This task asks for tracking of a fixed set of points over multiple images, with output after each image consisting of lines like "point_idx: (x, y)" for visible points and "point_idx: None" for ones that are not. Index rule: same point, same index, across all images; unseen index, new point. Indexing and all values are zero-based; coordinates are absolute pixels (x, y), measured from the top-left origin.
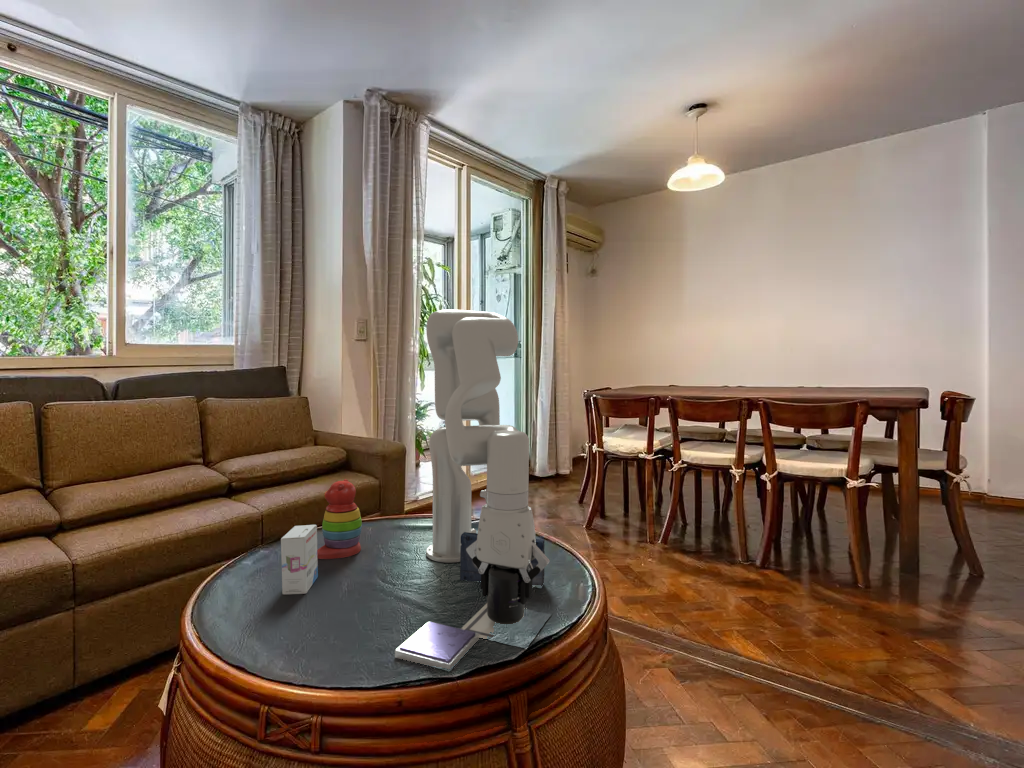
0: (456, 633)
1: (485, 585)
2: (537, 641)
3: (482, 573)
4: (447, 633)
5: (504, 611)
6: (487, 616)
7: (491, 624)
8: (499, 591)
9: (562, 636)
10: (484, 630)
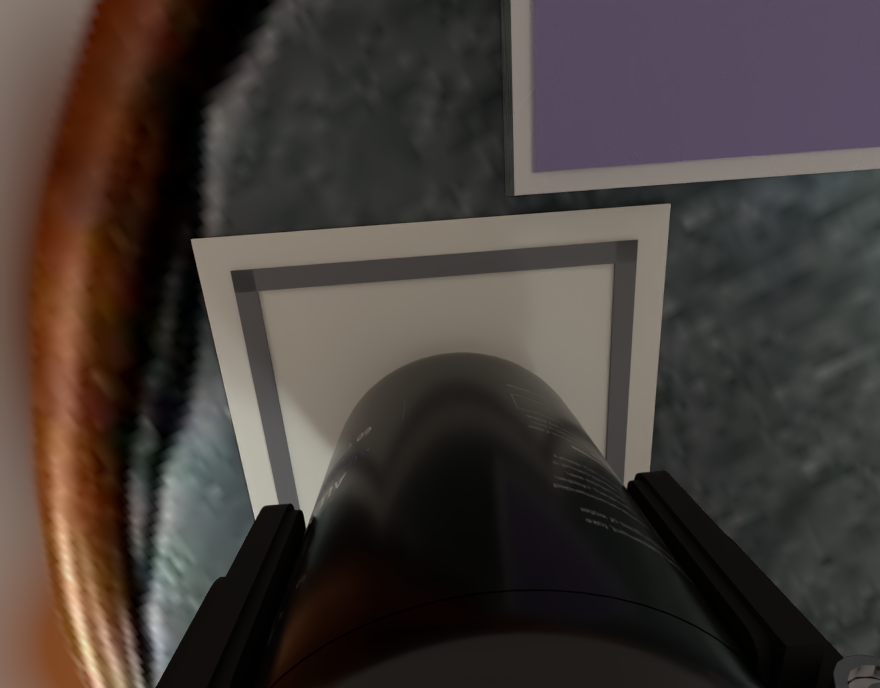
0: (656, 88)
1: (692, 544)
2: (197, 353)
3: (846, 670)
4: (718, 50)
5: (406, 392)
6: None
7: None
8: (464, 473)
9: (111, 461)
10: (523, 300)
